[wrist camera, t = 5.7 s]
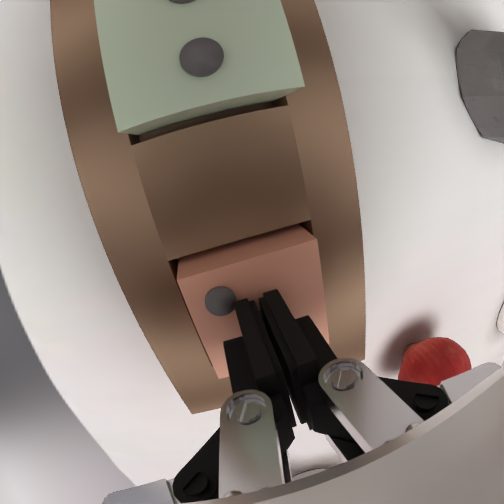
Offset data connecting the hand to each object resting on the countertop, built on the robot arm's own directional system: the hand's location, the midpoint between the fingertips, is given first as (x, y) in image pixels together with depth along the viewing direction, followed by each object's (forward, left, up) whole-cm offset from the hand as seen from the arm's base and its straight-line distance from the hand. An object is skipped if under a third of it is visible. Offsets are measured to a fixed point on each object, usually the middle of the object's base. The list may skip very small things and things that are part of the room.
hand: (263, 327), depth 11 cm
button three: (0, 0, -3) cm, 3 cm away
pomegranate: (+11, +11, -5) cm, 16 cm away
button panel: (-10, 0, -4) cm, 11 cm away
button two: (-10, 0, -2) cm, 10 cm away
